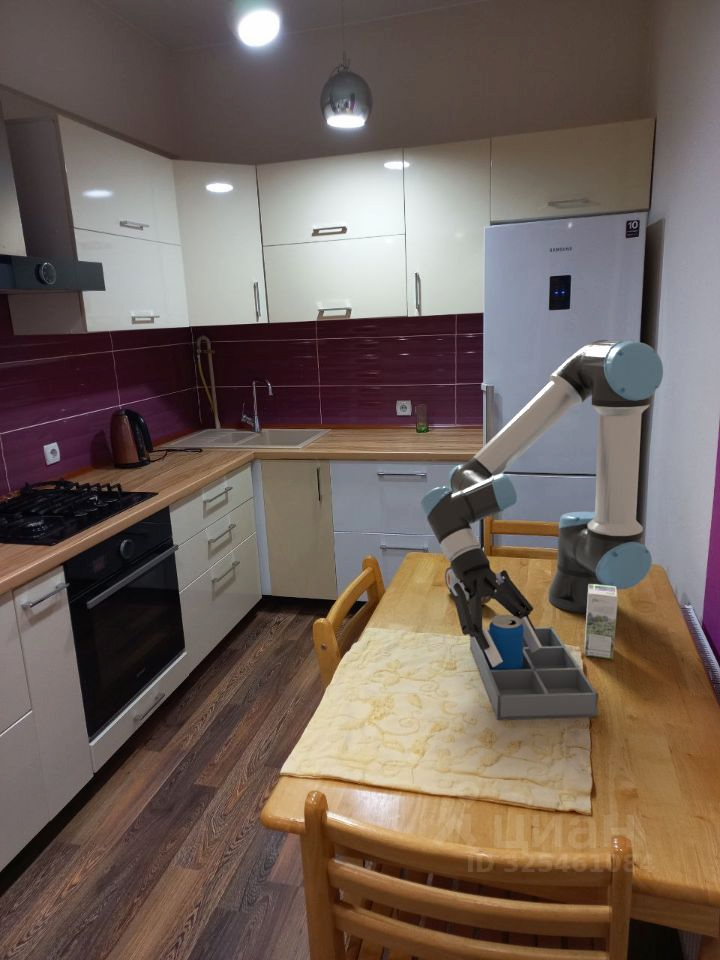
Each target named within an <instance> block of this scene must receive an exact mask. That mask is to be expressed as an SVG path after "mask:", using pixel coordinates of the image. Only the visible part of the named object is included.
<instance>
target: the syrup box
mask: <svg viewBox="0 0 720 960" xmlns="http://www.w3.org/2000/svg"><path fill="white" fill-rule="evenodd" d="M618 599H619V597H618V589H617V588H616V586H607V585H597V584H589V585H588V598H587V613H585V615H586V617H585V629H584V630H585V631H584V656H585V657H586V656H587V657H594V658H599V659H600V658H601V659H607V660H613V659H614V649H615V637H616V636H615V635H616V634H615V633H616V626H617V625H616V624H617V613H618V602H619V601H618Z"/></svg>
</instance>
